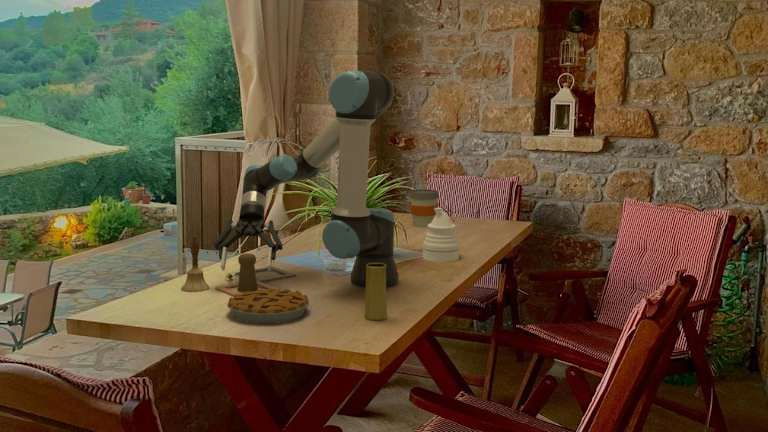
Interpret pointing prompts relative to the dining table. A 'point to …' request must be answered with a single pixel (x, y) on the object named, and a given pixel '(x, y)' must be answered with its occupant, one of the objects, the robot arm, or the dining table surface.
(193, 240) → the hand bell
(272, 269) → the frame
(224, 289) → the frame
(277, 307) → the pie
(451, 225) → the honey pot
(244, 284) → the cork
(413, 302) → the dining table surface
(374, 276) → the vase
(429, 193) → the reusable coffee cup
